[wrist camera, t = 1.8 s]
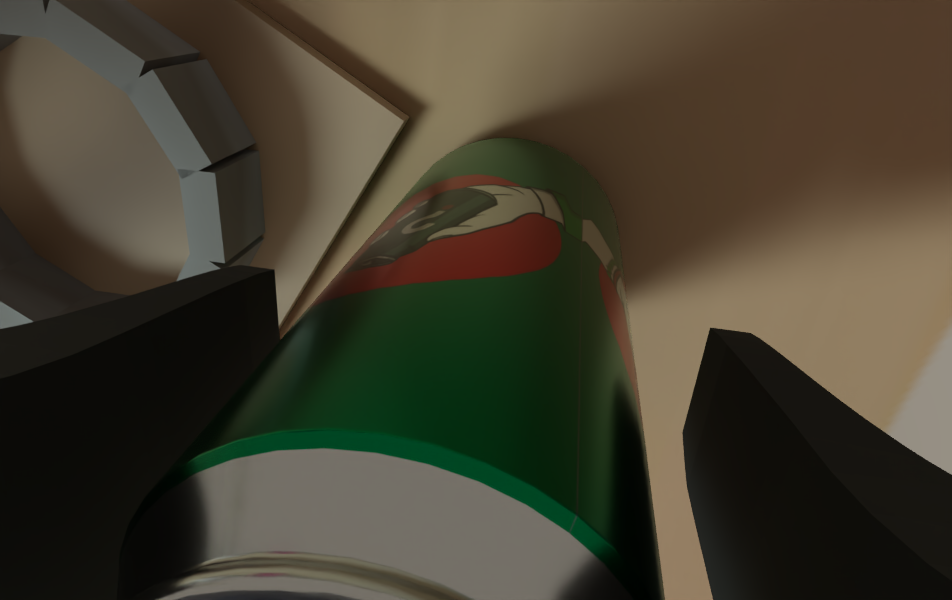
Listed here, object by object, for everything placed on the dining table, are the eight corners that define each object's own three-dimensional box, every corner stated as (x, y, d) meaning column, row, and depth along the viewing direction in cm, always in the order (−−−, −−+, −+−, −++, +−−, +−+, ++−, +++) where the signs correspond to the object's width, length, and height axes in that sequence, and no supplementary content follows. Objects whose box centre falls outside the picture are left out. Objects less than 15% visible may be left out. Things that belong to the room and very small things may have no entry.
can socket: (-123, 210, 18) (-223, 242, 16) (-42, -206, 13) (-169, -246, 11) (222, 422, 19) (175, 478, 17) (409, 117, 15) (377, 140, 12)
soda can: (367, 243, 16) (-59, 747, 6) (497, 83, 14) (215, 392, 3) (519, 367, 17) (407, 1006, 6) (664, 232, 15) (861, 856, 4)
